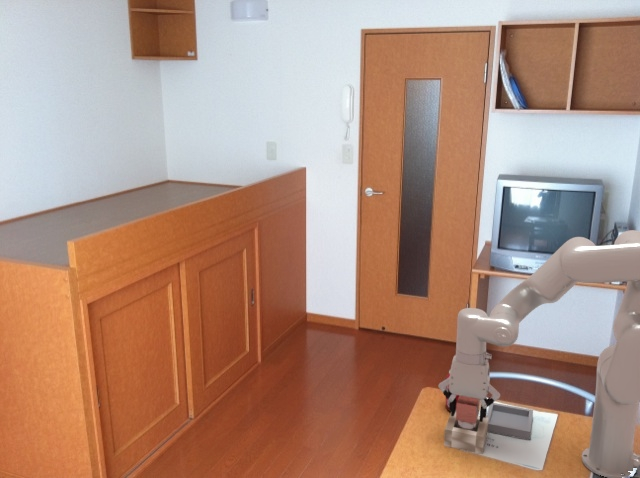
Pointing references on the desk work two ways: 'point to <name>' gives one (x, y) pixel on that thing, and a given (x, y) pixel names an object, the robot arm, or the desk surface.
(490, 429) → the tray
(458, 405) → the peg
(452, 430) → the eye block
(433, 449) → the desk surface
